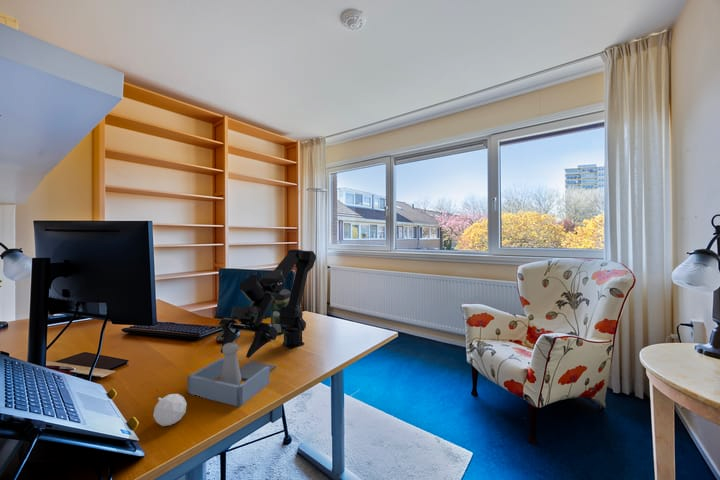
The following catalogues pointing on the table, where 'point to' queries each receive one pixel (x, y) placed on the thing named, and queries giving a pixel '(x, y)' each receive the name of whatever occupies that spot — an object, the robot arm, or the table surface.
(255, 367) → the coaster
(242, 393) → the cradle
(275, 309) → the coffee jar
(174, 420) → the ornament
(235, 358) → the salt shaker
